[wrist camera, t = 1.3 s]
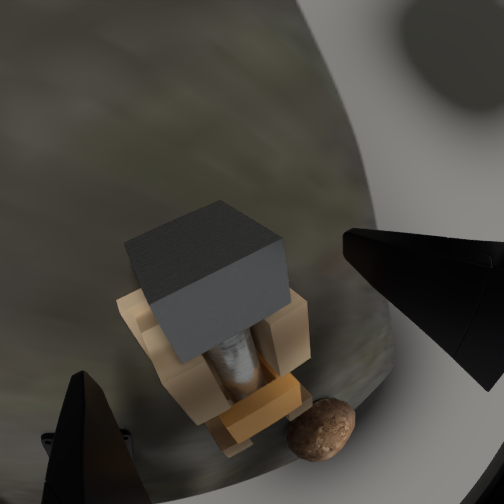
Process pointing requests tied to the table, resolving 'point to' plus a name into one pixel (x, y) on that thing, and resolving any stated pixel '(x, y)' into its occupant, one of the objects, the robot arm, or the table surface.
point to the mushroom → (321, 430)
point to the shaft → (213, 288)
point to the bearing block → (202, 371)
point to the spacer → (263, 404)
